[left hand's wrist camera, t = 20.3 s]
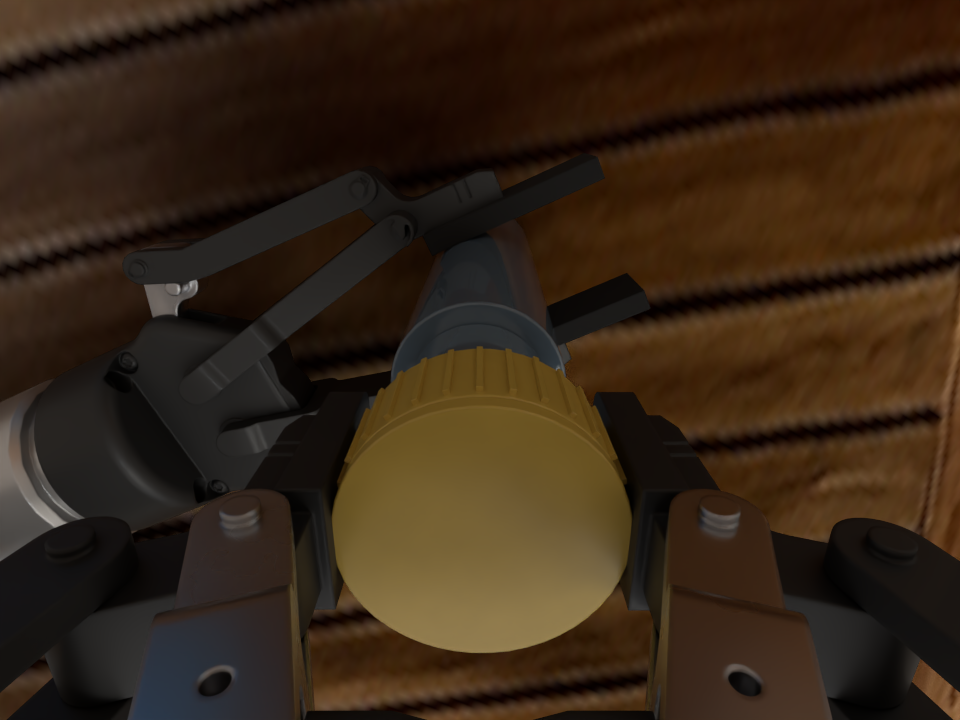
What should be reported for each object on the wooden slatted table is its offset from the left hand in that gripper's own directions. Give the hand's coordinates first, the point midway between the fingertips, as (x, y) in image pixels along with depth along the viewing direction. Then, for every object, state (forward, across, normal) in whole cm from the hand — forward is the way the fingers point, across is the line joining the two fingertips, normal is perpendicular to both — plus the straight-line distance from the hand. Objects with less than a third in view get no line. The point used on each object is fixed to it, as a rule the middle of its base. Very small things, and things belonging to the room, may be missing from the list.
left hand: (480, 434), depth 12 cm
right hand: (+11, -5, -2) cm, 13 cm away
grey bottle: (+18, 0, 0) cm, 18 cm away
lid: (-3, 0, 0) cm, 3 cm away
